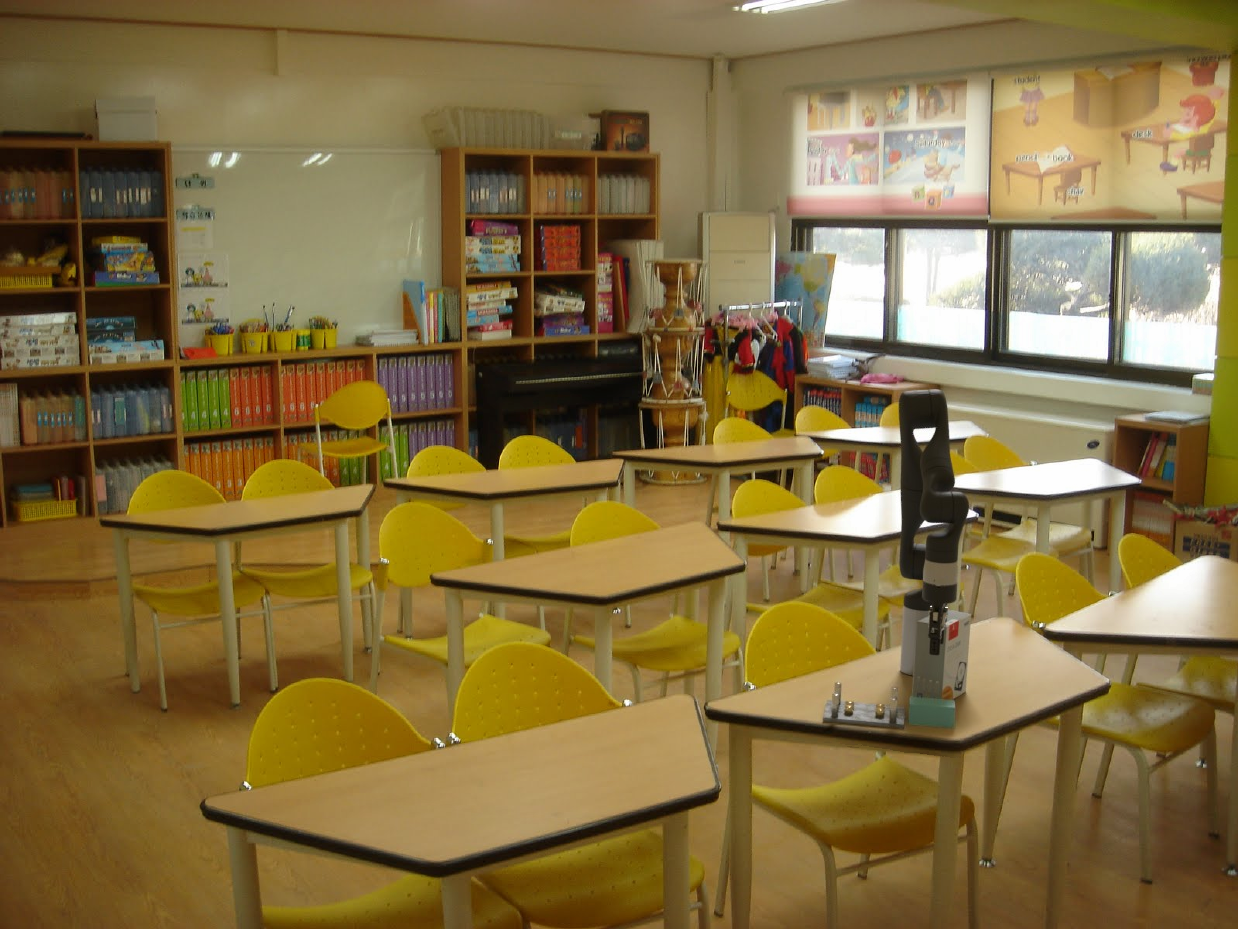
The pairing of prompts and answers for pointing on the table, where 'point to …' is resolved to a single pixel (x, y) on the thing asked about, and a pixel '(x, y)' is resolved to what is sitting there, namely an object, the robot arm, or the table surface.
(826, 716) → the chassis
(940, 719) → the green box
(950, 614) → the hard drive box
